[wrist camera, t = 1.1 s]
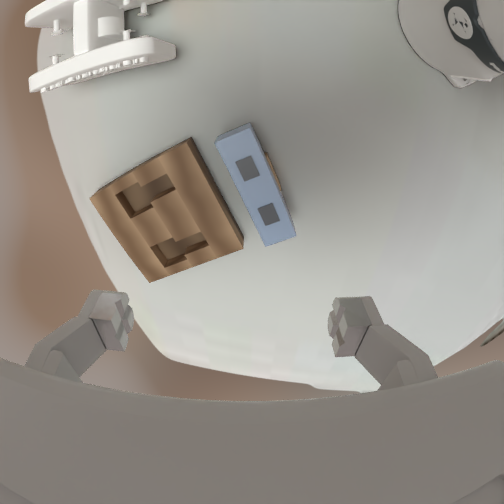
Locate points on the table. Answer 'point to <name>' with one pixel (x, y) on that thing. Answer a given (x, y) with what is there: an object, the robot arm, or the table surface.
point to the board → (169, 213)
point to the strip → (256, 183)
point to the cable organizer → (94, 40)
